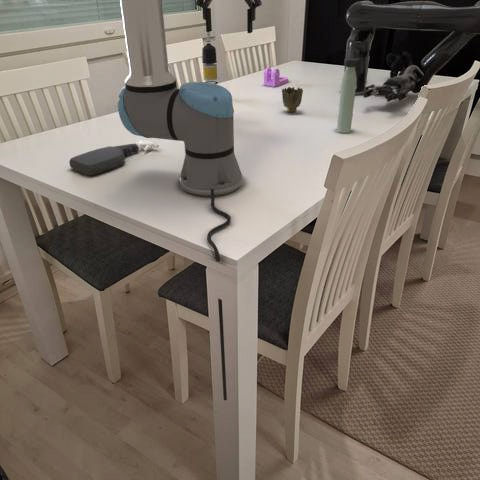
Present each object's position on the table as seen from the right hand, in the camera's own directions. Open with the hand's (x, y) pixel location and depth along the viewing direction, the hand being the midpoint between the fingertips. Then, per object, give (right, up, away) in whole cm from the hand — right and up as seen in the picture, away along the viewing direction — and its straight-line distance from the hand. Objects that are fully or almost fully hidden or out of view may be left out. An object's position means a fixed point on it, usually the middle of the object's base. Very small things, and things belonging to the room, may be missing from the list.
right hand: (376, 96), depth 152 cm
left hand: (-50, +16, -14) cm, 54 cm away
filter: (-58, +8, +27) cm, 64 cm away
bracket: (-30, +21, +47) cm, 60 cm away
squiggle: (+25, +23, +48) cm, 59 cm away
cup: (-28, -3, +9) cm, 30 cm away
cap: (-14, +4, -21) cm, 26 cm away
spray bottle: (-81, -27, -27) cm, 90 cm away
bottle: (-13, -14, -10) cm, 22 cm away
